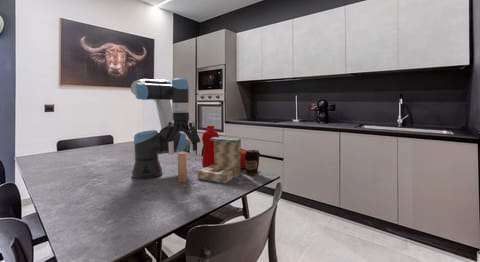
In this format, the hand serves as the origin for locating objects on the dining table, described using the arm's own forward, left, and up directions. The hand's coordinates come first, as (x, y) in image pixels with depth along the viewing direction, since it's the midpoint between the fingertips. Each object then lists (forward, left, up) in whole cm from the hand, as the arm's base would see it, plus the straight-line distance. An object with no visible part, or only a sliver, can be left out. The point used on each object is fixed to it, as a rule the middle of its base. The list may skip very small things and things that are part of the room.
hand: (182, 155), depth 114 cm
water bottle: (-4, +30, -13) cm, 33 cm away
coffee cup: (+26, +26, -13) cm, 39 cm away
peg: (0, 0, -13) cm, 13 cm away
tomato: (+14, +35, -13) cm, 40 cm away
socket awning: (+12, +16, -13) cm, 24 cm away
